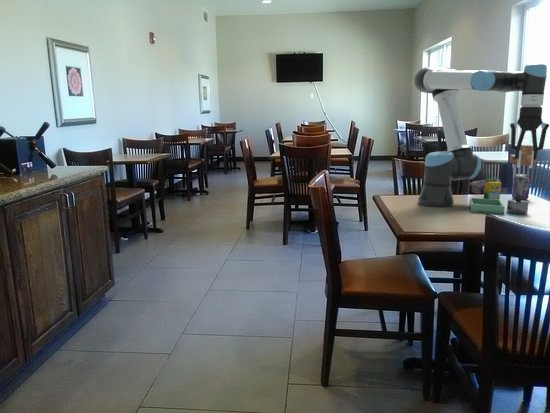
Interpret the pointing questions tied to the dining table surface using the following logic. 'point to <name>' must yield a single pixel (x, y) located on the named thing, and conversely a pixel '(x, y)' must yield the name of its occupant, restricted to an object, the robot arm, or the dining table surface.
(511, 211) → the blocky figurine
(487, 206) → the tray
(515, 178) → the beverage can
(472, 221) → the dining table surface
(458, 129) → the robot arm
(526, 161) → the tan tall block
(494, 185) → the crayon box
